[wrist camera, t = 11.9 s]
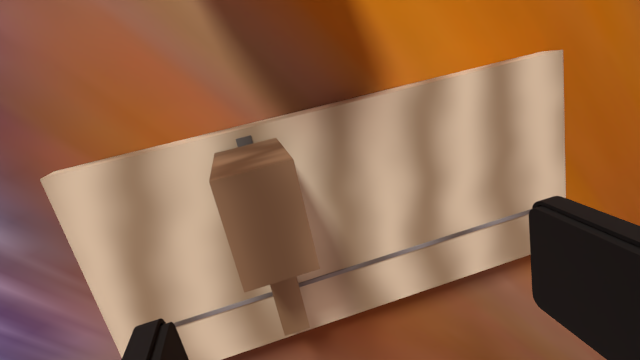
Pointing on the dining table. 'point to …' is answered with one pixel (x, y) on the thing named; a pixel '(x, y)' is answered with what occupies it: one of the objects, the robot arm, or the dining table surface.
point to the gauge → (266, 224)
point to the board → (326, 205)
